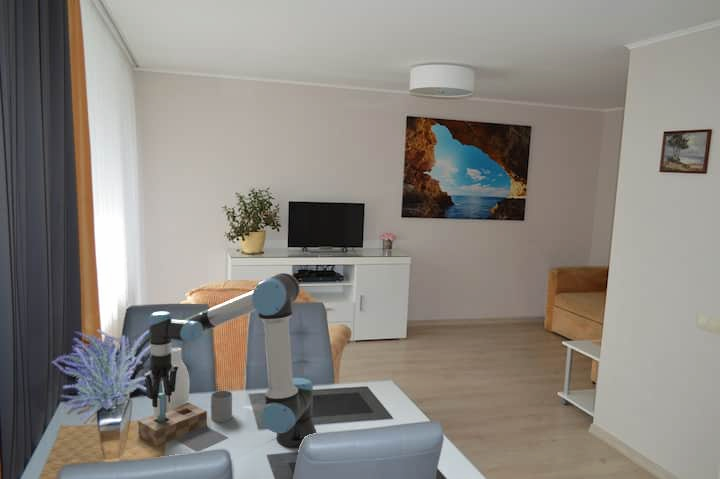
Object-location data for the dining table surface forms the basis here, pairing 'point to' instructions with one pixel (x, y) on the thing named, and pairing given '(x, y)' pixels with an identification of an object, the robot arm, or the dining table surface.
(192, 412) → the block
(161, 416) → the peg
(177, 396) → the bottle
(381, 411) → the dining table surface
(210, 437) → the mat
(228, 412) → the cup
